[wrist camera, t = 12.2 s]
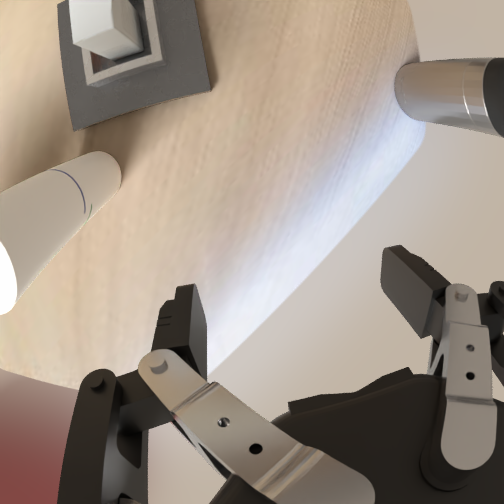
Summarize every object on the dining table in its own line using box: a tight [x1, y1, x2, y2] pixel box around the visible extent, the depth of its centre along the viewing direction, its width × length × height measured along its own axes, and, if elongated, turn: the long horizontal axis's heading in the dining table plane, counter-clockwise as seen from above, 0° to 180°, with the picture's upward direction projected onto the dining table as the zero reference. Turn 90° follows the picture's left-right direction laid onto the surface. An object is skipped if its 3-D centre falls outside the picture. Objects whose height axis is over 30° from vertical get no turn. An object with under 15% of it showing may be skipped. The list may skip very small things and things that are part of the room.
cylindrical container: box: [0, 151, 122, 314], centre depth 24 cm, size 7×7×25 cm
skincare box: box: [69, 0, 144, 61], centre depth 21 cm, size 6×4×12 cm
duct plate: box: [57, 0, 211, 131], centre depth 25 cm, size 18×20×5 cm
